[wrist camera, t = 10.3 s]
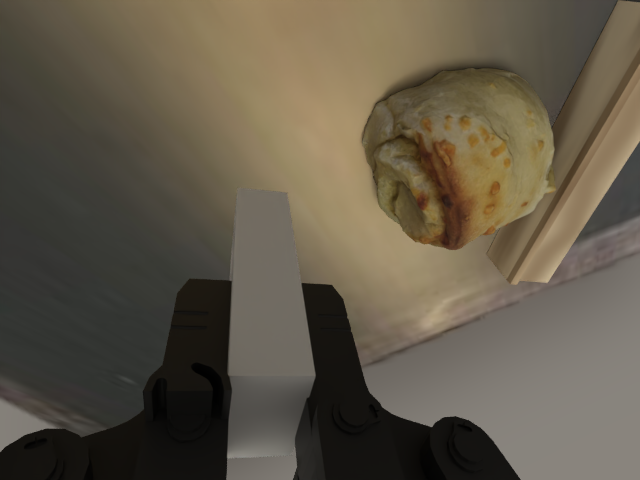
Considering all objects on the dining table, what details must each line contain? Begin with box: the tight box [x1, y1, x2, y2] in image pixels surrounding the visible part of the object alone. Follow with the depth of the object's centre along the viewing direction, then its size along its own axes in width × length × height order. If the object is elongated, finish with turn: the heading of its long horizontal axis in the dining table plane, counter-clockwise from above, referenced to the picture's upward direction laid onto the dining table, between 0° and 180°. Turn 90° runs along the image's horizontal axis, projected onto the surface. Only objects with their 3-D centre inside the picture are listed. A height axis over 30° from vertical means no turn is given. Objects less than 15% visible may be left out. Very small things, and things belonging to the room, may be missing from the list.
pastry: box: [362, 68, 556, 250], centre depth 27 cm, size 14×12×8 cm
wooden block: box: [486, 0, 640, 285], centre depth 30 cm, size 4×20×4 cm, turn 169°
